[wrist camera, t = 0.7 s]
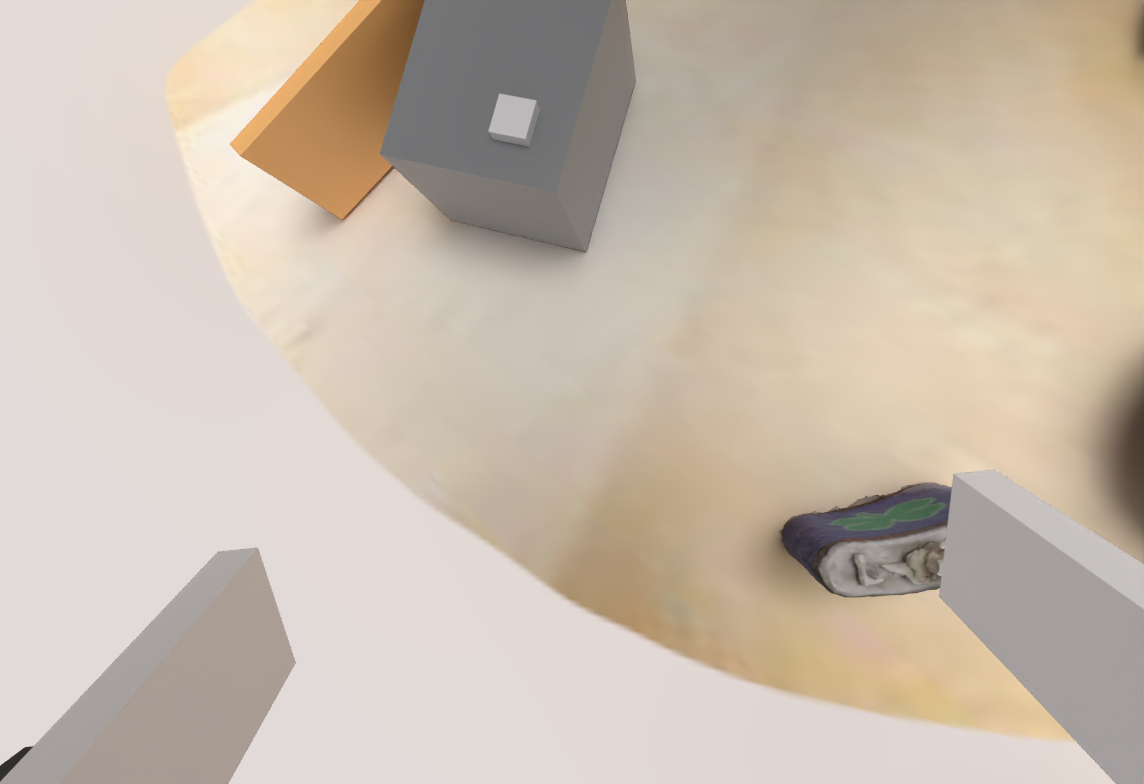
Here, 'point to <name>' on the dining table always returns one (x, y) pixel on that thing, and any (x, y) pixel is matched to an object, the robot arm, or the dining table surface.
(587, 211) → the block
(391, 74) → the side door
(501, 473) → the dining table surface
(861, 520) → the flask
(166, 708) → the robot arm
